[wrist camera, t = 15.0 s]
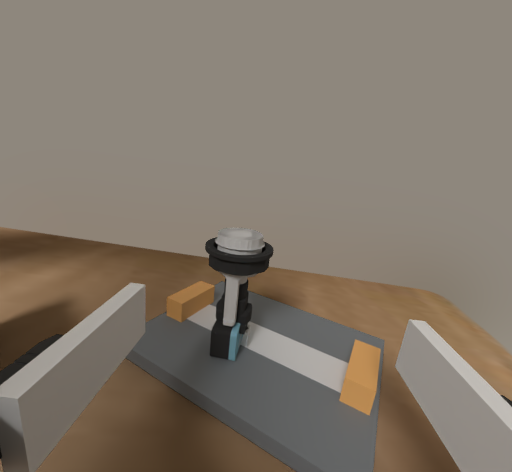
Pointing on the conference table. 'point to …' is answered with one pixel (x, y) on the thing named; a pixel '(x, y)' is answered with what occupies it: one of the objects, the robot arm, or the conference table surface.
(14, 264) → the conference table surface
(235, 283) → the push button
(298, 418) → the mounting panel
